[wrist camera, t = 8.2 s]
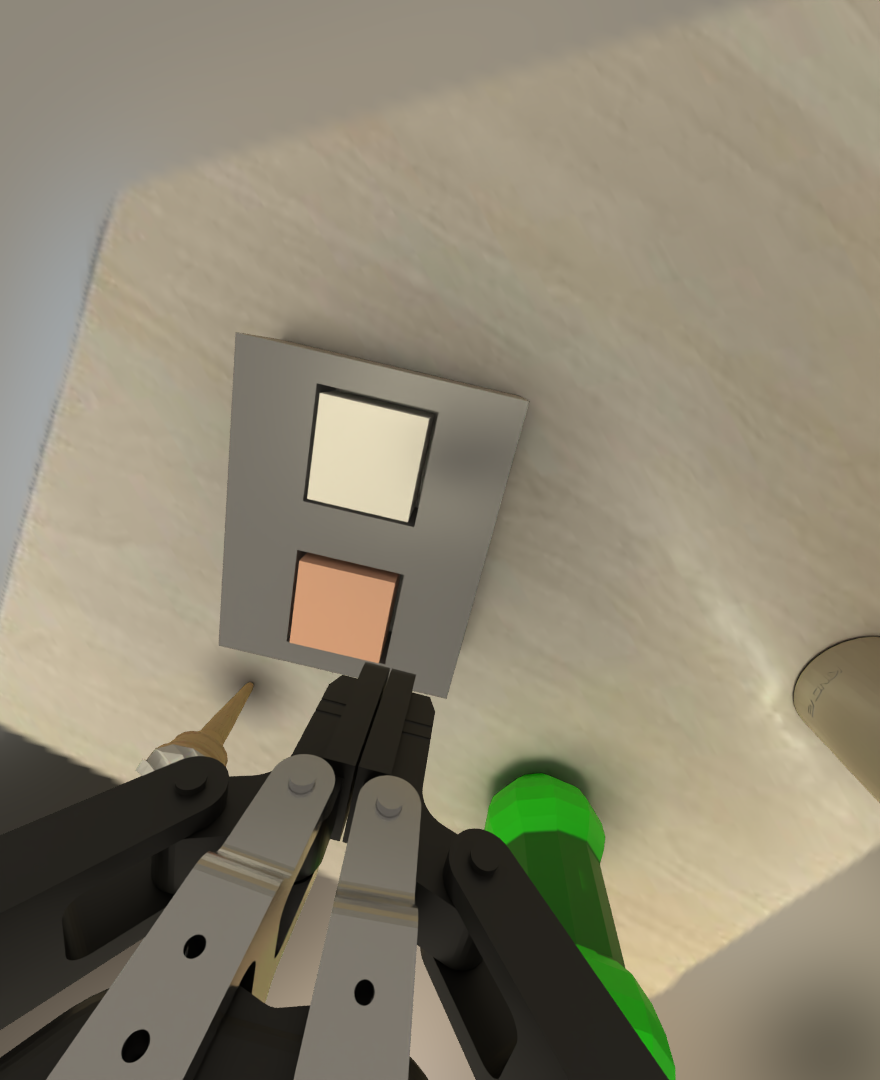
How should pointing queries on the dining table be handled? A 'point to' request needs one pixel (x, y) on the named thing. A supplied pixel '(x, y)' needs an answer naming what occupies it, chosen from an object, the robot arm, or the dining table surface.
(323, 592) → the terracotta key
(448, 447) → the block
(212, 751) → the ice cream cone
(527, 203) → the dining table surface
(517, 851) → the plastic bottle
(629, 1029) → the robot arm
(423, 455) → the white key
